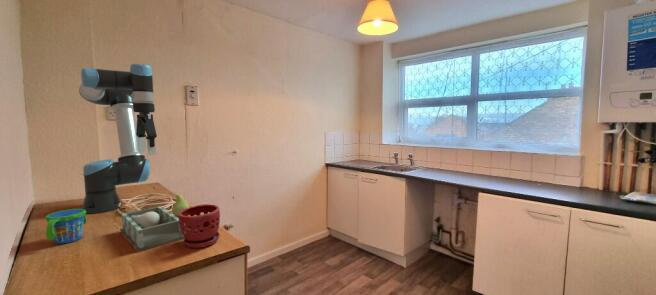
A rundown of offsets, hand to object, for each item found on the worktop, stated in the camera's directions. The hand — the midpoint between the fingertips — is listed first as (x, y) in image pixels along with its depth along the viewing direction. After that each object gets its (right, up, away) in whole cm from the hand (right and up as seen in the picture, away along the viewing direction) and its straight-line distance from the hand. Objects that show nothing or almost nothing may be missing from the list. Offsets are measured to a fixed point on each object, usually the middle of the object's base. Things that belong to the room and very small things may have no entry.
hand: (147, 153), depth 122 cm
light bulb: (+5, -26, -13) cm, 29 cm away
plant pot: (+32, -31, -20) cm, 49 cm away
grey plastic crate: (+10, -30, -14) cm, 35 cm away
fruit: (+11, -28, +7) cm, 31 cm away
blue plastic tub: (-17, -31, -18) cm, 40 cm away
